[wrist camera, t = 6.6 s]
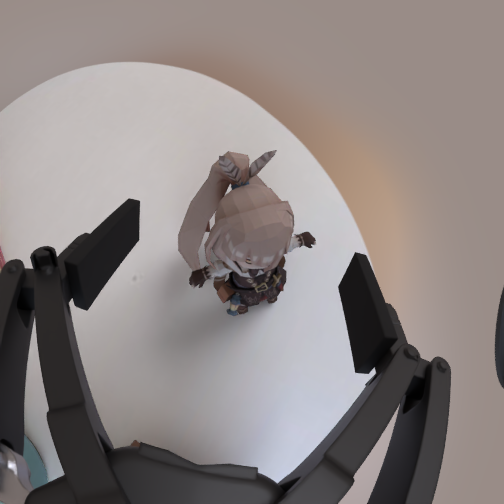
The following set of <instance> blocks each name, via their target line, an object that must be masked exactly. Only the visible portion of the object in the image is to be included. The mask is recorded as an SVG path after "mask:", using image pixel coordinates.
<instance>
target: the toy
mask: <svg viewBox="0 0 504 504" xmlns="http://www.w3.org/2000/svg"><path fill="white" fill-rule="evenodd" d="M276 151H277V150H275V151H271V152H267V153H264V154H263V155H262V156H261V157H259V158H258V159H257V160H255V161H254V162H253V163H252V164H251V166H250V168H249V158H248V155H244V154H239V153H234V152H229V151H228V152H227V153H226V154H224V155H223V156H219V160H218V161H217V162H216V163H214V164H213V165H212V168H211V171H210V174H209V177H208V179H207V180H206V182H205V183H204V184H203V186H202V187H201V188H200V190H199V191H198V193H197V194H196V196H195V197H194V198H193V200H192V201H191V203H190V205H189V208H188V210H187V213H186V216H185V218H184V221H183V224H182V226H181V229H180V232H179V234H178V251H179V252H180V254H181V255H182V256H183V258H184V259H185V260H186V262H187V263H188V265H189V266H190V267H191V269H192V270H193V272H192V274H191V277H190V278H189V281H190V282H189V284H190V285H192V287H193V288H195V287H196V286H197V285H198V284H199V288H200V287H202V286H203V284H204V282H205V281H206V280H208V279H210V278H212V277H215V279H214V288H215V289H216V290H217V291H218V292H217V294H218V296H219V297H220V299H221V301H222V302H223V303H225V302H226V301H228V300H230V309H227V313H228V314H230V315H232V316H235V315H237V314H238V313H239V314H245V313H246V312H248V306H253V305H258V304H259V302H261V301H264V300H266V299H267V301H268V303H274V302H275V301H277V296H278V295H279V293H280V292H281V291H283V286H284V284H285V283H286V271H285V270H284V269H283V268H284V264H285V257H284V255H283V254H287V252H291V251H292V250H293V249H294V248H296V247H299V248H300V247H301V246H303V245H304V246H306V247H308V248H312V246H311V244H312V245H316V242H315V241H316V240H315V238H314V237H313V236H312V235H311V234H310V233H309V232H304V233H302V234H299V235H296V236H293V237H291V236H292V233H293V227H294V215H293V212H292V209H291V207H290V205H289V203H288V201H281V200H280V199H279V198H278V196H277V195H276V194H275V193H274V192H273V191H272V189H271V188H268V187H267V186H266V185H265V184H264V182H263V181H262V180H261V179H260V178H259V177H258V176H257V175H256V174H258V173H259V171H260V170H261V169H262V168H263V167H264V166H265V165H266V164H267V163H268V161H269V160H270V159H271V158H272V157H273V156H274V155H275V153H276ZM230 183H231V185H232V186H231V187H232V191H230V192H229V193H228V194H226V195H225V193H226V191H227V189H228V187H229V185H230ZM224 195H225V196H224ZM215 211H216V213H215ZM214 213H215V224H214V226H213V227H212V229H211V230H210V224H209V220H210V219H211V217H212V216H213V214H214ZM205 232H210V234H209V237H208V239H207V241H206V243H205V245H204V246H205V253H206V259H207V262H208V263H209V264H210V266H208V267H206V266H207V265H206V266H205V267H204V268H202V269H200V263H199V257H198V250H199V247H200V244H201V242H202V239H203V236H204V233H205ZM211 248H212V249H213V252H214V253H215V254H216V256H217V257H218V258H219V259H221V260H215V262H214V263H213V264H212V262H211V261H210V256H211ZM229 272H230V273H229ZM227 273H229V279H228V280H227V281H225V278H226V275H227ZM231 275H232V276H231ZM236 310H237V311H238V313H237V311H236Z"/></svg>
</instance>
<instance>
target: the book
mask: <svg viewBox="0 0 504 504" xmlns="http://www.w3.org/2000/svg"><path fill="white" fill-rule="evenodd" d="M4 265H5V261H4V257H3V254H2V251H1V248H0V272H1V270H2V268H3V266H4Z"/></svg>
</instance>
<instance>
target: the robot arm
mask: <svg viewBox="0 0 504 504" xmlns="http://www.w3.org/2000/svg"><path fill="white" fill-rule="evenodd" d="M139 217H140V201H139V200H134V199H128V200H127V201H125V202H124V203H123V204H122V205H121V206H120V207H119V208H118V209H116V210H115V211H114V212H113V213H112V214H111V215H110V216H109V217H108V218H106V219H105V220H104V221H103V222H102V223H101V224H100V225H99V226H98V227H97V228H96V229H95V230H94V231H93V232H92V233H91V234H89V233H84V234H82V235H80V236H78V237H77V238H76V239H75V240H74V241H73V242H72V243H71V244H70V245H69V246H68V248H66V249H65V250H64V251H63V252H62V253H61V254H60V255H59V256H58V257H57V255H56V251H55V249H54V248H52V247H49V246H43V247H40V248H38V249H36V250H34V252H33V253H32V254H31V257H30V258H31V262H32V266H33V269H26V268H25V267H24V264H23V262H22V261H21V260H18V259H14V260H10V261H8V262H7V263H6V264H5V265H4V266H3V268H2V270H1V272H0V501H1V502H2V503H4V504H338V503H339V501H340V500H341V499H342V498H343V497H344V496H345V494H346V493H347V492H348V491H349V489H350V488H351V486H352V485H353V483H354V478H353V477H354V475H355V473H356V472H357V470H358V469H359V468H360V466H361V465H362V463H363V462H364V461H365V459H366V458H367V456H368V455H369V453H370V452H371V450H372V449H373V447H374V446H375V444H376V443H377V441H378V440H379V438H380V437H381V435H382V433H383V431H384V430H385V428H386V427H387V425H388V423H389V422H390V420H391V418H392V417H393V415H394V413H395V411H396V409H397V408H398V406H399V404H400V406H399V410H398V414H397V419H396V422H395V426H394V429H393V433H392V437H391V440H390V443H389V447H388V450H387V453H386V456H385V459H384V462H383V465H382V468H381V470H380V473H379V476H378V479H377V481H376V484H375V486H374V489H373V491H372V493H371V496H370V498H369V501H368V503H367V504H432V501H433V498H434V494H435V490H436V486H437V482H438V478H439V473H440V469H441V464H442V459H443V454H444V448H445V441H446V434H447V425H448V416H449V404H450V386H451V369H450V366H449V364H448V363H447V361H446V360H444V359H443V358H441V357H435V358H434V359H433V360H432V361H431V362H429V361H426V360H424V359H422V358H420V354H419V352H418V350H417V349H416V348H415V347H414V346H412V345H410V344H408V343H407V340H406V337H405V334H404V331H403V329H402V326H401V325H400V324H401V323H400V321H399V320H398V315H397V313H396V311H395V309H394V308H393V307H392V305H391V304H388V303H385V300H384V297H383V295H382V292H381V290H380V287H379V285H378V282H377V280H376V277H375V275H374V272H373V270H372V268H371V265H370V263H369V261H368V258H367V256H366V255H364V254H360V253H356V252H355V254H354V256H353V258H352V260H351V262H350V264H349V266H348V268H347V270H346V272H345V274H344V276H343V278H342V280H341V282H340V284H339V286H338V288H339V293H340V297H341V302H342V306H343V311H344V315H345V320H346V325H347V330H348V335H349V340H350V345H351V351H352V356H353V362H354V368H355V373H364V374H369V373H370V372H371V370H372V369H373V368H374V367H375V370H376V374H375V375H374V376H373V377H372V378H371V379H370V380H369V381H368V382H367V383H366V384H365V385H366V387H365V388H364V390H363V391H362V393H361V394H360V395H359V397H358V398H357V399H356V401H355V402H354V403H353V405H352V406H351V407H350V408H349V410H348V411H347V412H346V413H345V415H344V416H343V417H342V418H341V420H340V421H339V422H338V423H337V425H336V426H335V427H334V428H333V429H332V430H331V432H330V433H329V434H328V435H327V436H326V437H325V438H324V440H323V441H322V442H321V443H320V444H319V445H318V446H317V447H316V448H315V449H314V451H313V452H312V453H311V454H310V455H309V456H308V457H307V458H306V459H305V460H304V461H303V462H302V463H301V464H300V465H299V466H298V467H297V468H296V469H295V470H294V471H293V472H291V473H290V474H289V475H287V476H286V477H285V478H284V479H282V480H281V481H280V482H279V483H278V484H277V483H276V482H275V481H273V480H272V479H270V478H268V477H267V476H265V475H262V474H260V473H257V472H258V468H257V467H249V466H241V465H234V464H215V465H197V464H194V463H192V462H190V461H188V460H186V459H184V458H182V457H180V456H178V455H176V454H174V453H172V452H170V451H168V450H165V449H161V448H158V447H155V446H151V445H148V444H145V443H142V442H141V443H140V446H139V447H136V446H128V447H121V448H117V449H114V447H113V445H112V443H111V441H110V439H109V437H108V435H107V433H106V431H105V429H104V427H103V425H102V422H101V419H100V417H99V414H98V411H97V409H96V406H95V403H94V400H93V397H92V394H91V391H90V388H89V385H88V382H87V378H86V375H85V372H84V368H83V365H82V361H81V357H80V353H79V349H78V345H77V341H76V336H75V332H74V327H73V322H72V316H71V311H70V306H69V302H70V300H71V299H72V298H73V301H74V305H75V306H76V307H78V308H81V309H84V310H86V311H87V310H88V309H89V308H90V306H91V305H92V303H93V302H94V300H95V299H96V297H97V296H98V294H99V293H100V292H101V290H102V289H103V287H104V286H105V284H106V283H107V282H108V280H109V279H110V278H111V276H112V275H113V273H114V272H115V271H116V269H117V268H118V267H119V265H120V264H121V263H122V261H123V260H124V259H125V257H126V256H127V255H128V254H129V252H130V251H131V250H132V248H133V247H134V246H135V245H136V243H137V242H138V241H139ZM34 318H35V322H36V334H37V344H38V352H39V359H40V366H41V372H42V378H43V383H44V388H45V393H46V398H47V402H48V407H49V411H48V412H47V421H48V425H49V429H50V432H51V436H52V439H53V442H54V445H55V448H56V451H57V454H58V457H59V460H60V463H61V465H62V468H63V471H64V473H65V475H63V476H61V477H59V478H57V479H55V480H53V481H51V482H48V483H46V484H44V485H42V486H39V487H37V488H35V489H34V487H33V486H32V484H31V481H30V477H31V471H30V469H29V467H28V464H27V462H26V461H25V459H24V458H23V453H24V398H25V382H26V370H27V361H28V353H29V346H30V340H31V334H32V328H33V323H34Z"/></svg>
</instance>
